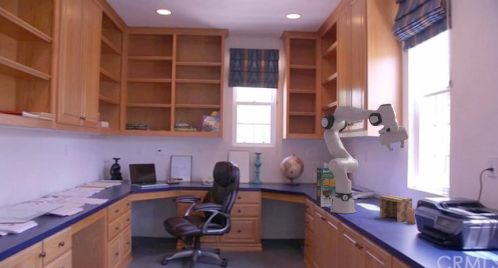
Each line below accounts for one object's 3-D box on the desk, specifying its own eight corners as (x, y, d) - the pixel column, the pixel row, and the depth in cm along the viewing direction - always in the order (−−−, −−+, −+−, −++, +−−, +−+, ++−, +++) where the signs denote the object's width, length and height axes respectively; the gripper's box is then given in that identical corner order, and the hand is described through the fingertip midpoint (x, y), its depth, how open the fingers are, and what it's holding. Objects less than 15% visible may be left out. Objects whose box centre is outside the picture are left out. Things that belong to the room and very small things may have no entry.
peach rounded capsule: (405, 222, 240) (405, 208, 240) (413, 222, 239) (413, 208, 240) (408, 224, 235) (408, 209, 235) (416, 224, 234) (417, 209, 235)
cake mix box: (339, 204, 309) (340, 167, 310) (344, 205, 303) (344, 167, 304) (316, 205, 301) (316, 167, 302) (320, 206, 295) (321, 168, 296)
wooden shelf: (398, 221, 241) (399, 199, 242) (379, 217, 256) (379, 196, 256) (411, 220, 247) (412, 198, 247) (392, 215, 261) (392, 195, 261)
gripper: (400, 126, 248) (405, 146, 248) (375, 132, 241) (381, 153, 240) (407, 124, 243) (412, 145, 242) (382, 130, 235) (388, 152, 234)
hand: (396, 149), depth 241 cm, fingers open, 8 cm apart
